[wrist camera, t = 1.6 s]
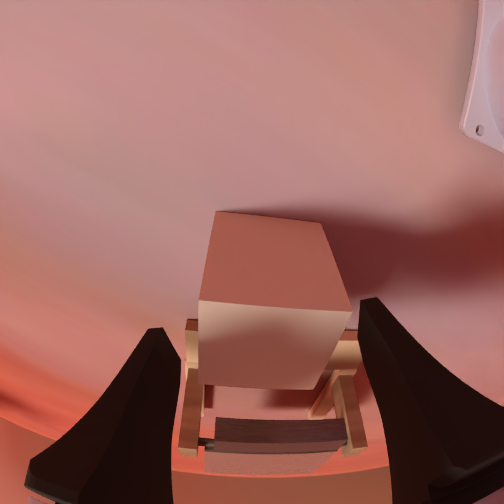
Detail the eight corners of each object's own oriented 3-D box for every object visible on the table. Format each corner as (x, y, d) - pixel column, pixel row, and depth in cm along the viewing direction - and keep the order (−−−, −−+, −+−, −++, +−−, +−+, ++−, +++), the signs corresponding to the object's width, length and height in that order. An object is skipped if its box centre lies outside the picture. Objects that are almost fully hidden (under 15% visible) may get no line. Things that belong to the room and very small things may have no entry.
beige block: (320, 222, 14) (353, 311, 9) (298, 299, 16) (313, 389, 12) (215, 210, 13) (198, 300, 9) (209, 291, 16) (198, 383, 11)
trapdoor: (206, 416, 14) (204, 439, 13) (352, 417, 15) (356, 438, 14) (205, 459, 19) (204, 475, 18) (310, 460, 20) (312, 476, 18)
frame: (185, 319, 17) (167, 421, 12) (372, 330, 18) (400, 419, 12) (189, 406, 23) (182, 475, 18) (321, 412, 24) (330, 476, 19)
